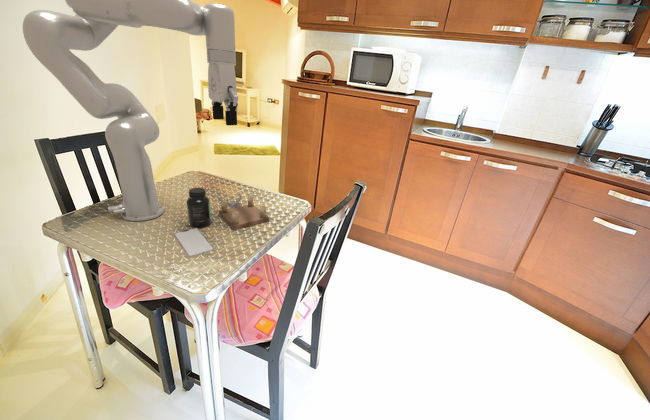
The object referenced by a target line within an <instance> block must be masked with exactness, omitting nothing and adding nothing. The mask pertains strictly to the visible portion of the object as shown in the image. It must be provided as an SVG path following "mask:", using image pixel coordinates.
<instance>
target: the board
mask: <svg viewBox="0 0 650 420" xmlns="http://www.w3.org/2000/svg"><path fill="white" fill-rule="evenodd" d="M227 202H228V200H226V199H222V201H220V209H221V210H218V216H219V217H221V218H222V219H223V221H224V222H225V224H227V225H228V226H229V227H230V228H231V229H232V230H233V231H236V230H240V229H244V228H248V227H251V226H256V225H260V224H263V223H268V222H270V217H269V216H268V215H267V205H264V204H262V205H260V207H259V208H258V207H257V206H256V205H254V195H250V194H249V195H247V204H244V205H240V206H239V207H234V208H231V207H230V208H228V204H227Z"/></svg>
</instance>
